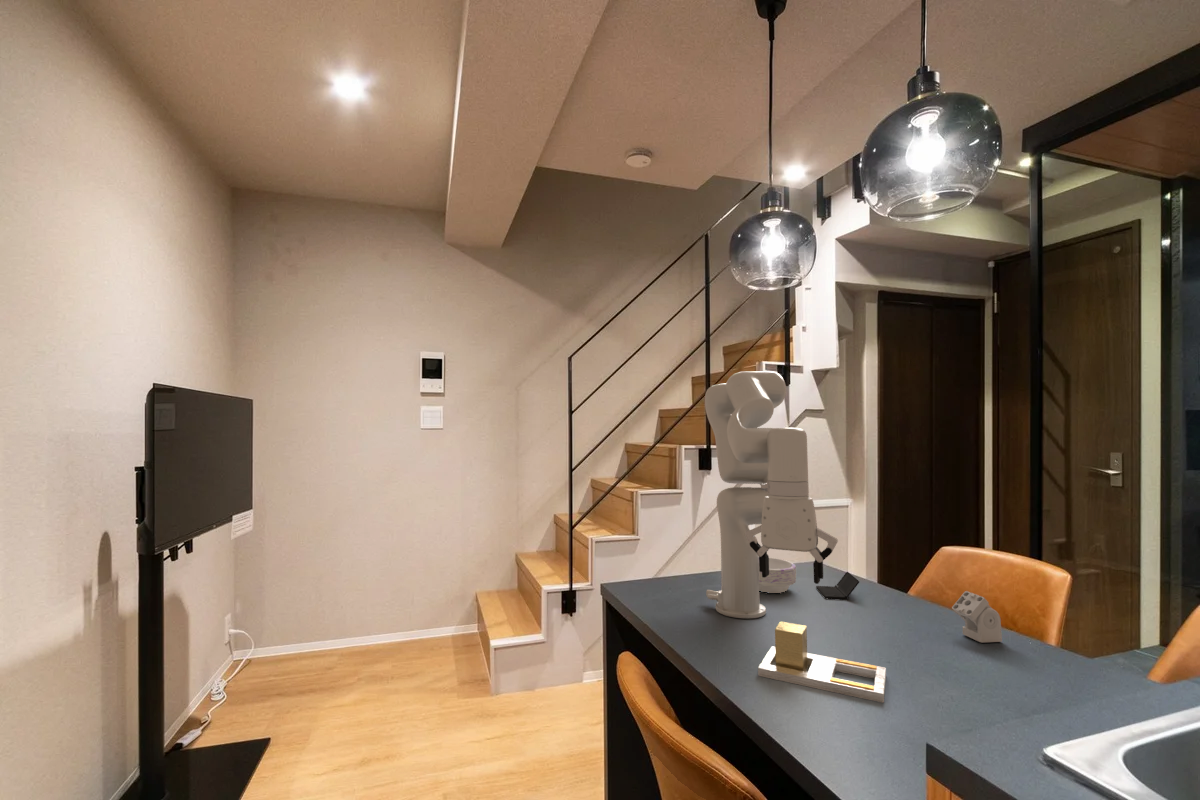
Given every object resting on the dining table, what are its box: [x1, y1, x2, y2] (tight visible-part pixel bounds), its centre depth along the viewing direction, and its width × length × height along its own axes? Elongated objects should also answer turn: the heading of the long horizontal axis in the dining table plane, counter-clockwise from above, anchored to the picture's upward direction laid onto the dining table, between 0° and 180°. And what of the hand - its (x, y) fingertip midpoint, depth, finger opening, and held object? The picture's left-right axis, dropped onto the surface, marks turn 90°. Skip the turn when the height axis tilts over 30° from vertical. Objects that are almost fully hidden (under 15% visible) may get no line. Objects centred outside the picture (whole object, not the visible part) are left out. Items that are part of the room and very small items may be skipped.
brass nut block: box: [774, 621, 809, 672], centre depth 105 cm, size 5×5×8 cm
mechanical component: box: [951, 590, 1003, 643], centre depth 121 cm, size 5×8×10 cm
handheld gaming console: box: [815, 571, 860, 601], centre depth 155 cm, size 12×7×10 cm
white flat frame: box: [757, 646, 887, 704], centre depth 102 cm, size 21×12×2 cm, turn 61°
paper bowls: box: [759, 557, 797, 594], centre depth 160 cm, size 15×15×8 cm
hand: (790, 579), depth 106 cm, fingers open, 9 cm apart
